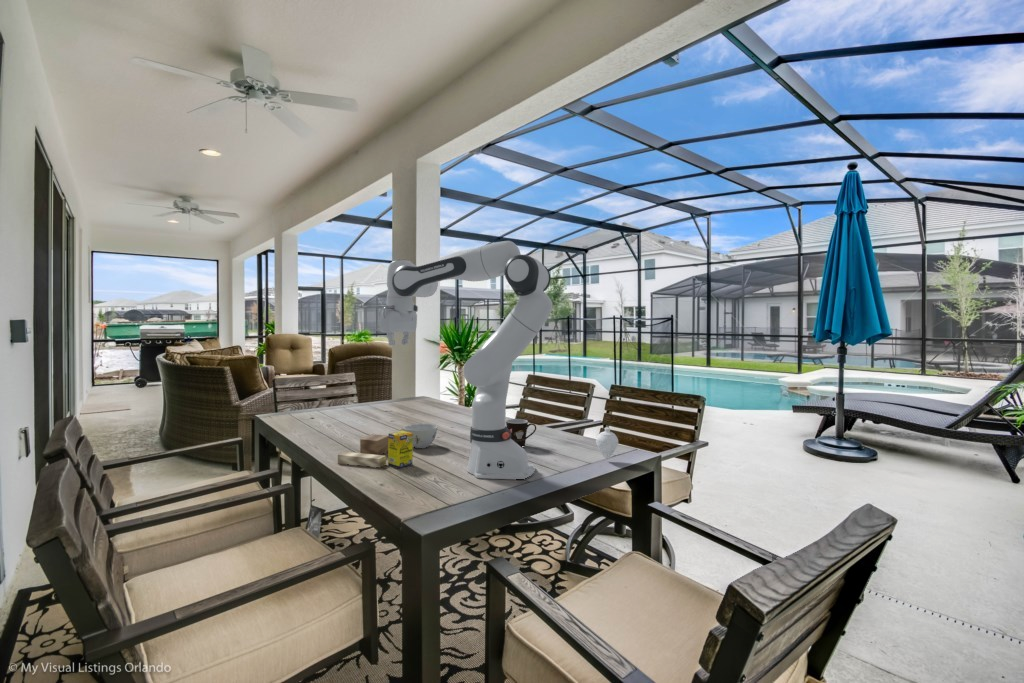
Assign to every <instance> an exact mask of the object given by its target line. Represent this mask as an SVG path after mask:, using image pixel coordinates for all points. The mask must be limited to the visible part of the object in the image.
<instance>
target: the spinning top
mask: <svg viewBox="0 0 1024 683" xmlns="http://www.w3.org/2000/svg"><path fill="white" fill-rule="evenodd" d="M595 444H596V446H597V448H598V450H599V451H600V453H601V455H602V456H603V458H604V459H605V460H606V459H607V460H609V458H611V456H612V455H613V454H614V452H615V451H616V449H617V448H618V445H619V438H618V436H617V435H616V434H615V433H614V432H612V431H611V427H604V431H602V432H600V433H599V434H598V435H597V436H596V439H595Z"/></svg>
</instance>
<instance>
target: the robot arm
mask: <svg viewBox="0 0 1024 683" xmlns="http://www.w3.org/2000/svg"><path fill="white" fill-rule="evenodd" d="M550 273H551V272H550V270H549V269H548V268H547V266H545V265H544V264H543V263H542V262H540V260H538V259H537V258H535V257H532V256H531V255H528V254H527V255H526V254H521V251H520V248H519V246H518V245H517V244H516V243H514V241H512V240H504V241H496V242H492V243H488V244H485V245H481V246H478V247H476V248H473V249H470V250H467V251H465V252H463V253H460V254H457V255H454V256H451V257H448V258H445V259H441V260H437V261H433V262H430V263H426V264H424V265H423V264H422V265H420V266H417V265H416V264H414V263H413V262H412V261H411V260H409V259H397V260H396V259H395V260H393V261H392V262H390V263H389V265H388V268H387V274H386V275H387V276H386V287H387V294H386V305H385V306H384V308H383V310H382V311H381V314H380V322H379V331H380V332H381V333H386V338H387V340H388V346H390V347H393V346H395V345H396V340H395V338H394V336H395V333H402V335H403V337H402V339H401V344H402V345H408V344H409V339H410V337H411V333H414V332H416V330H417V325H418V322H417V321H418V314H417V312H418V311H419V306H418V305H416V304H415V303H414V301H413V297H416V298H428V297H431V296H433V295H434V294H435V293H436V292H437V289H438V286H439V285H438V284H439V282H442V281H447V280H457V281H458V280H459V281H466V282H483V281H488V280H492V279H495V278H498V277H502V276H504V278H505V279H506V282H507V283H508V285H509V286H510V287H511V288H512V290H513V292H514V293H515V295H516V296H518V300H517V302H516V303H515V305H514V307H513V308H512V309H511V311H510V312H509V313H508V315H506V317H505V318H504V320H503V321H502V322H501V324H500V325H499V326H498V327H497V329H496V330H495V331H494V332H493V333H492V334H491V336H490V337H488V338H487V339H486V341H484V343H483V344H482V345H481V346H480V347H479V348H478V349H477V350H476V351H475V353H474V354H473V355H471V356H470V358H468V359H467V360H466V361H465V363H464V366H463V377H464V379H465V380H466V382H467V383H468V384H469V385H471V386H473V387H476V390H475V394H474V397H473V400H472V404H471V426H470V430H469V431H470V432H469V441H470V451H469V458H468V461H467V462H468V463H467V466H466V471H467V472H468V473H470V474H471V475H473V476H474V477H475V478H476V479H489V480H490V479H492V480H500V479H501V480H516V479H524V480H526V479H525V478H527V477H529V476H531V475H532V474H533V473H534V474H535V472H536V467H535V465H534V464H533V463H529V457H528V453H527V451H526V449H524V448H522V447H520V446H519V445H518V444H517V443H516V442H514V441H513V440H512V439H511V432H512V429H510V430H509V429H508V428H507V426H506V412H507V411H506V409H507V408H506V407H507V406H506V404H507V399H508V398H507V397H508V391H509V387H510V386H509V385H510V377H511V374H512V370H513V362H515V360H516V359H518V357H519V356H520V355H522V353H524V352H525V350H526V349H527V348H528V346H529V345H530V344H531V342H532V341H533V340H534V339H535V337H537V335H538V333H539V332H540V330H542V329H543V327H544V325H545V323H546V322H547V320H548V319H549V316H550V315H551V313H552V311H553V308H554V307H553V301H552V300H551V299H552V298H550V297H549V296H548V294H546V293H545V291H546V290H547V289H548V288H549V286H550V285H551V281H552V280H551V279H552V278H551V276H552V275H551V274H550ZM534 471H535V472H534ZM534 474H533V475H534ZM533 475H532V476H533ZM532 476H531V477H532ZM529 478H530V477H529ZM527 479H528V478H527Z"/></svg>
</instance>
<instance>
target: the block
mask: <svg viewBox="0 0 1024 683" xmlns="http://www.w3.org/2000/svg"><path fill="white" fill-rule="evenodd" d="M359 442H360V443H359V449H360V450H359V451H360V452H359V453H363V454H374V455H381V454H382V455H384V454H386V453H388V452H387V451H388V434H387V435H384V434H377V433H376V434H374V433H372V434H369V435H368V436H365V437H363V438H360V439H359ZM385 452H386V453H385ZM383 453H384V454H383Z"/></svg>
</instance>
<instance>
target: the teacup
mask: <svg viewBox="0 0 1024 683" xmlns="http://www.w3.org/2000/svg"><path fill="white" fill-rule="evenodd" d="M438 429H439V428H438V426H437V425H435V424H433V423H432V424H431V423H416V424H411V425H406V426H405V427H404V428H401V429H400V430H399V431H406V432H410V433H413V448H414V447H415V449H418V448H422V449H426V447H427V448H429V447H430V446H431V444H433V442H434V440H435V438H436V436H437V433H438Z"/></svg>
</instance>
